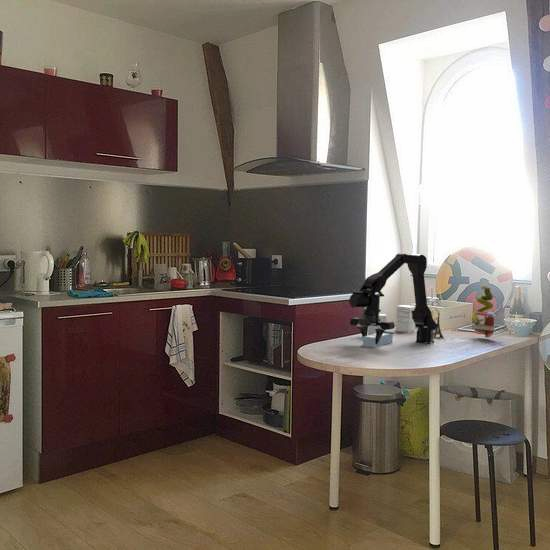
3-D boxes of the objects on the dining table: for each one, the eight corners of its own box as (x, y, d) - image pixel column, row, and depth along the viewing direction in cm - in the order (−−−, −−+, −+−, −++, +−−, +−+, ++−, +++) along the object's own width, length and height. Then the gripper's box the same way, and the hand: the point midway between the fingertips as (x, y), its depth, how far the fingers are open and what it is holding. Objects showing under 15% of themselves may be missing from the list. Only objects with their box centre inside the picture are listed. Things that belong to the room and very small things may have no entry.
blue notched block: (394, 342, 282) (395, 331, 282) (381, 346, 271) (382, 335, 271) (379, 340, 286) (380, 329, 286) (366, 344, 276) (366, 332, 275)
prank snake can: (465, 336, 304) (468, 284, 303) (482, 336, 308) (485, 284, 306) (482, 341, 294) (485, 287, 292) (499, 340, 298) (502, 287, 296)
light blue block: (378, 346, 272) (379, 336, 271) (373, 347, 268) (373, 337, 267) (368, 344, 275) (368, 335, 274) (362, 345, 271) (363, 336, 270)
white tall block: (401, 329, 321) (402, 304, 320) (415, 331, 317) (416, 306, 316) (394, 331, 315) (396, 305, 314) (409, 332, 311) (410, 307, 310)
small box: (384, 336, 298) (386, 314, 297) (385, 338, 292) (386, 315, 291) (367, 335, 299) (368, 313, 298) (368, 337, 293) (369, 314, 292)
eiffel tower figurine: (416, 337, 301) (418, 309, 300) (428, 335, 308) (430, 308, 307) (444, 342, 291) (446, 313, 290) (456, 340, 298) (458, 311, 297)
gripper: (343, 306, 269) (342, 343, 270) (384, 310, 258) (382, 349, 259) (356, 304, 278) (355, 339, 279) (396, 308, 267) (394, 345, 268)
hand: (370, 343), depth 271 cm, fingers closed on light blue block, 5 cm apart
